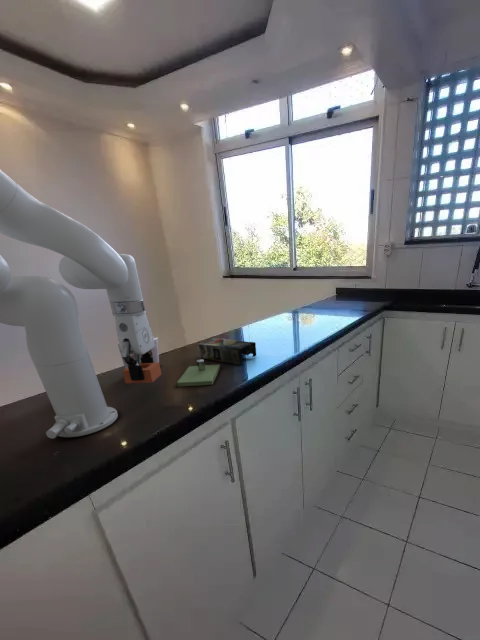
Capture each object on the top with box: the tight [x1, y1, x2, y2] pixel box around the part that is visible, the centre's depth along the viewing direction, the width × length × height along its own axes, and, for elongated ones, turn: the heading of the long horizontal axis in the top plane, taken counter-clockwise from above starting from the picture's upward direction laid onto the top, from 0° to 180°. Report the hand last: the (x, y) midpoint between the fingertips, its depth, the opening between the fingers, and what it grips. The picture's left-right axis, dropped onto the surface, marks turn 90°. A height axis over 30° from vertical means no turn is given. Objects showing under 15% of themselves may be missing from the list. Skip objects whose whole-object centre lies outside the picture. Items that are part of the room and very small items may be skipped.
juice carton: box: [197, 337, 257, 366], centre depth 110 cm, size 20×10×6 cm, turn 62°
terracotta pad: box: [122, 362, 162, 384], centre depth 84 cm, size 7×7×4 cm
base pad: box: [176, 358, 221, 387], centre depth 95 cm, size 14×10×4 cm
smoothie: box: [151, 336, 160, 364], centre depth 102 cm, size 6×6×14 cm
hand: (143, 374), depth 85 cm, fingers closed on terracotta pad, 7 cm apart
